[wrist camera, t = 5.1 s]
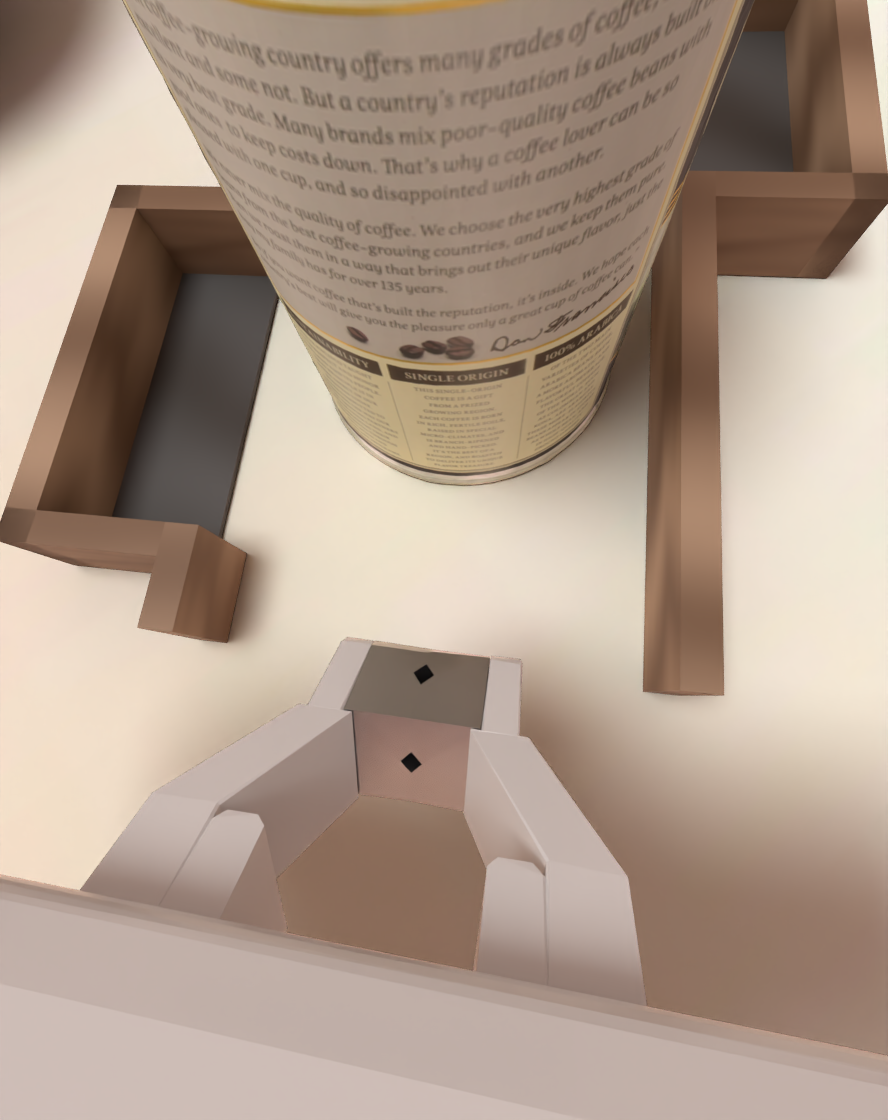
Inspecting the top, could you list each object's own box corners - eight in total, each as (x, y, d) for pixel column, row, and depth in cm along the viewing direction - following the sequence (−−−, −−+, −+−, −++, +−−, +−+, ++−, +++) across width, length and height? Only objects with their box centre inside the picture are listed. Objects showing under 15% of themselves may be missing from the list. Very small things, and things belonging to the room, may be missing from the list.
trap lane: (861, 717, 15) (954, 722, 12) (56, 623, 17) (-30, 608, 14) (804, 2, 22) (854, -104, 19) (242, 13, 24) (208, -80, 21)
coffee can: (282, 319, 20) (-176, -528, 6) (516, 201, 20) (582, -817, 7) (404, 543, 17) (75, -71, 3) (670, 400, 17) (1316, -625, 4)
